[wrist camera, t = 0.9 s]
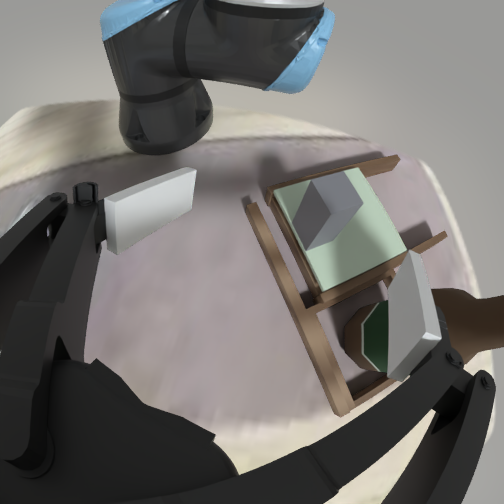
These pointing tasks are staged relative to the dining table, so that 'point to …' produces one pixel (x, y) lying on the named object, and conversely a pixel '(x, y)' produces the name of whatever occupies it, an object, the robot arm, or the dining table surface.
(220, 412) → the dining table surface
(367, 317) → the beer bottle
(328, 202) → the cover
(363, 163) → the brown flat frame
